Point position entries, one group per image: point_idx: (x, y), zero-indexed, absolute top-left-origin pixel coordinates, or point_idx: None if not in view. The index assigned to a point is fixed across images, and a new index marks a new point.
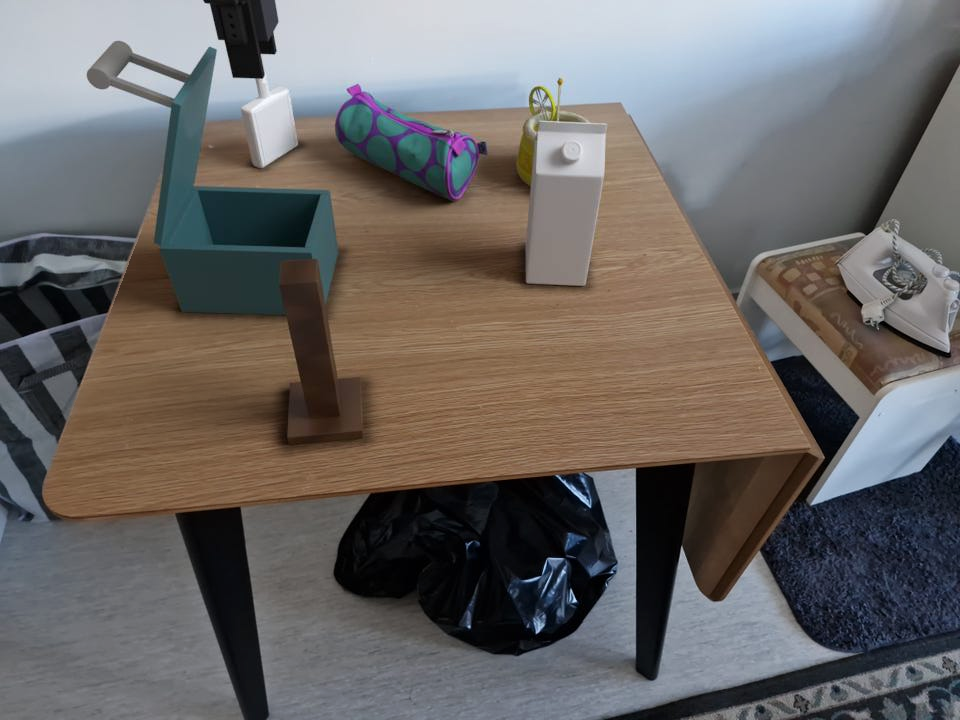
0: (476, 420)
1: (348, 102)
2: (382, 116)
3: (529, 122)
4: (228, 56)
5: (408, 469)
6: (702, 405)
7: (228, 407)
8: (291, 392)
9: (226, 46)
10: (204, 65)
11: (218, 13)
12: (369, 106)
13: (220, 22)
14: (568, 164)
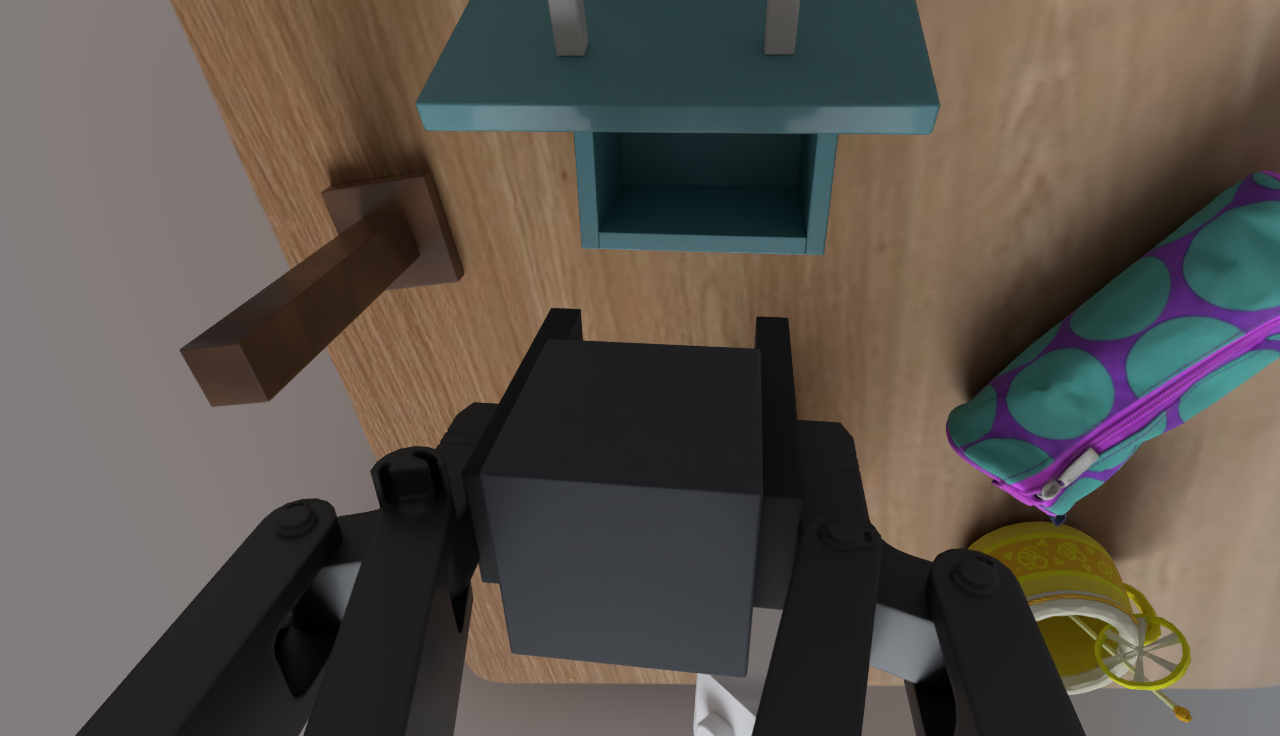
0: (434, 417)
1: None
2: (1227, 335)
3: (1092, 614)
4: (532, 345)
5: (339, 342)
6: (506, 624)
7: (373, 69)
8: (403, 182)
9: (519, 367)
10: (755, 128)
11: (481, 439)
12: None
13: (492, 417)
14: (709, 712)
